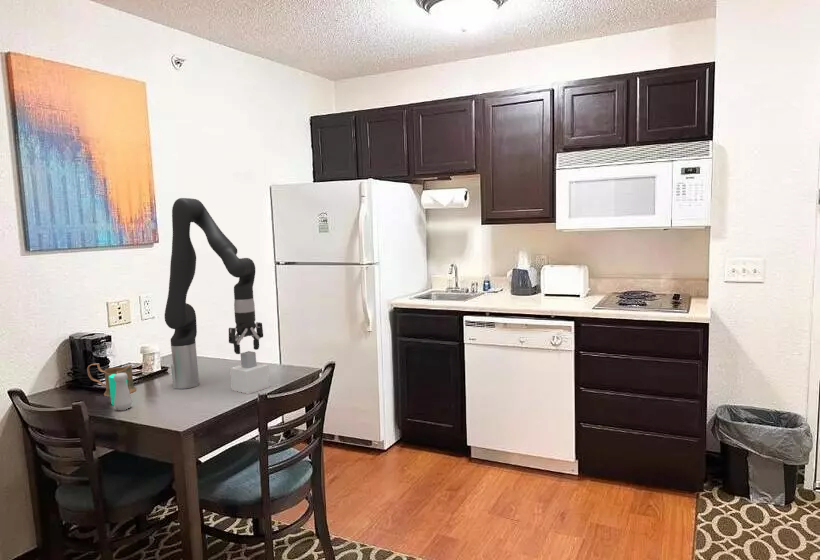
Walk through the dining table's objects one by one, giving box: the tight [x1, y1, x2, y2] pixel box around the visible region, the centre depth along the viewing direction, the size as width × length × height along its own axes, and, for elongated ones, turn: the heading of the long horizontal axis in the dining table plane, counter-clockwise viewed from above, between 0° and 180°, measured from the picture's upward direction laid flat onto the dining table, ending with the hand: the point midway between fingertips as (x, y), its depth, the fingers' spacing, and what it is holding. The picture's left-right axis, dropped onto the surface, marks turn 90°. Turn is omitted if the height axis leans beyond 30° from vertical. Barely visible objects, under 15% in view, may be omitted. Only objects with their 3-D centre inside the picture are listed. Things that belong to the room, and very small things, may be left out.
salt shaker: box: [113, 373, 133, 411], centre depth 203 cm, size 6×6×13 cm
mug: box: [86, 362, 137, 398], centre depth 224 cm, size 12×18×12 cm, turn 91°
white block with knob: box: [229, 350, 271, 395], centre depth 220 cm, size 10×10×14 cm
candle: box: [109, 373, 128, 406], centre depth 210 cm, size 6×6×12 cm
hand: (247, 351), depth 220 cm, fingers open, 8 cm apart
